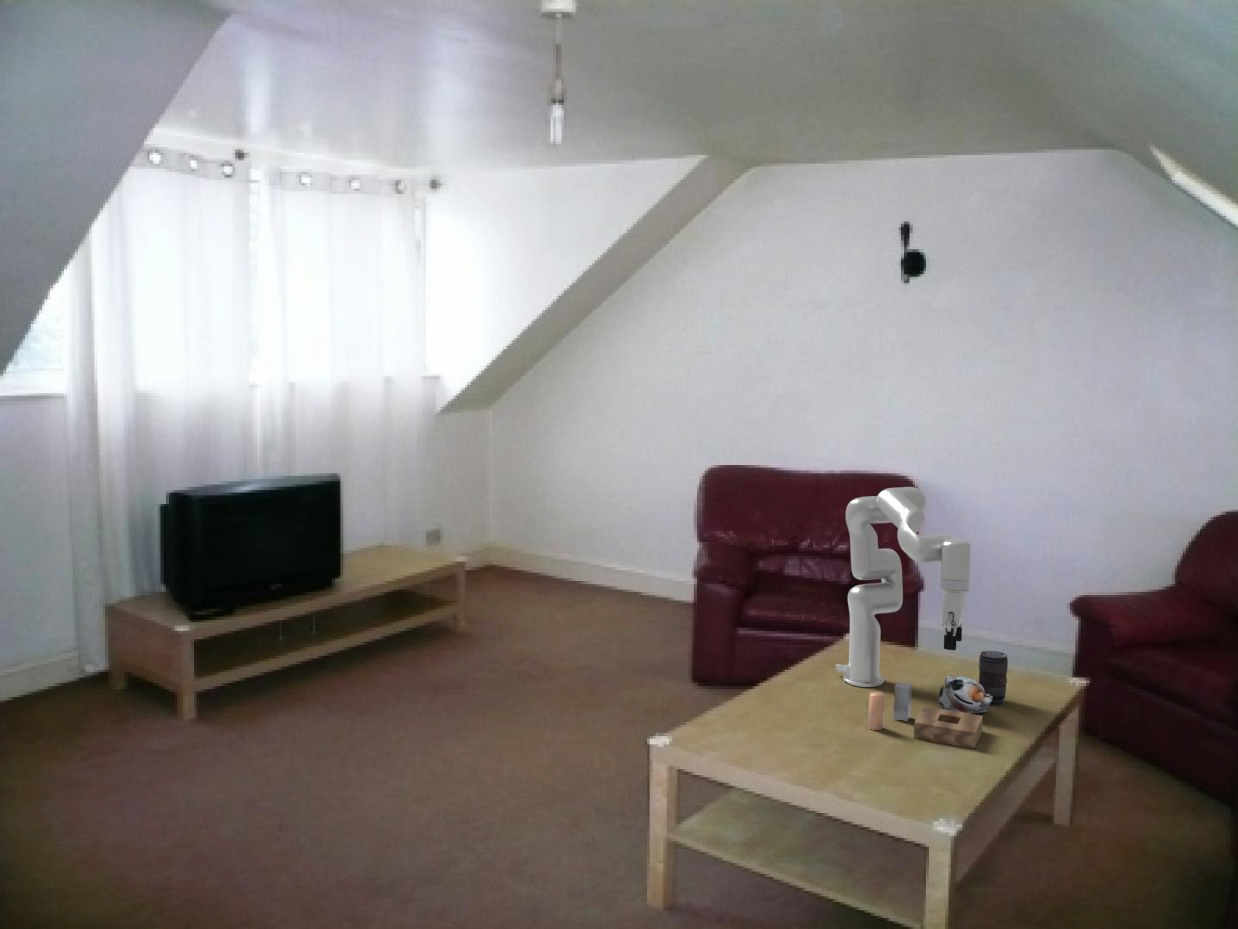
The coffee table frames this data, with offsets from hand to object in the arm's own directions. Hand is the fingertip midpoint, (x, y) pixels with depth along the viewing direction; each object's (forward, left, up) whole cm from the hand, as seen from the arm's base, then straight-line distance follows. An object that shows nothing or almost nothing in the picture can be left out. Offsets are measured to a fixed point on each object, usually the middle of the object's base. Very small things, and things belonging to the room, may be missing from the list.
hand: (952, 645), depth 286 cm
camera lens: (+7, +31, -25) cm, 40 cm away
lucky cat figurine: (+2, +18, -25) cm, 31 cm away
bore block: (0, -2, -25) cm, 25 cm away
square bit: (-14, +4, -25) cm, 29 cm away
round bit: (-19, -7, -25) cm, 32 cm away
